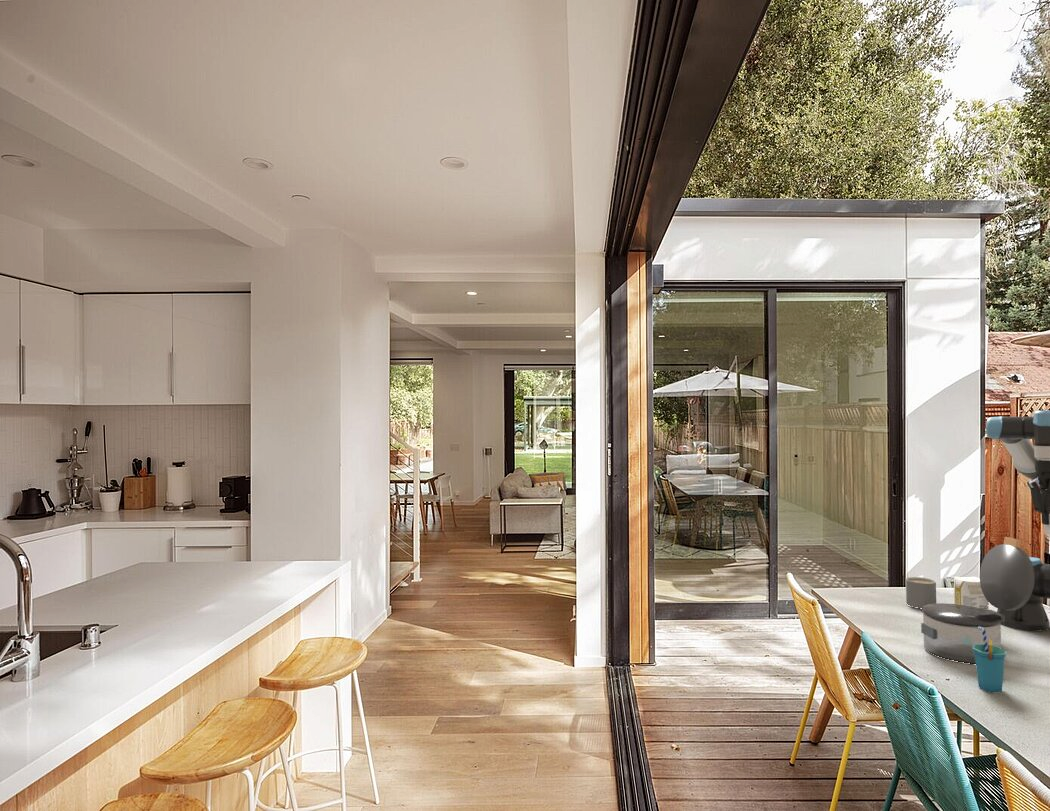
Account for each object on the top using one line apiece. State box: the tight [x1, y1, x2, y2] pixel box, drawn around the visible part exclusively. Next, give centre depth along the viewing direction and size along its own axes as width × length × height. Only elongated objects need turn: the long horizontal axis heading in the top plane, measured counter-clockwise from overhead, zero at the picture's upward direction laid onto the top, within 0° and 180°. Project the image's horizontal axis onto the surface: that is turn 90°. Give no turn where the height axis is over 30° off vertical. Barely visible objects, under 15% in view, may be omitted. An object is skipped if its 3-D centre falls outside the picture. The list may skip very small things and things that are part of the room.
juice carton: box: [953, 576, 990, 610], centre depth 217 cm, size 8×9×19 cm
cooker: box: [920, 603, 1005, 665], centre depth 201 cm, size 22×21×12 cm
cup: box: [973, 626, 1007, 693], centre depth 176 cm, size 14×8×15 cm, turn 160°
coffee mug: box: [905, 576, 937, 608], centre depth 251 cm, size 13×10×10 cm
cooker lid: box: [979, 536, 1035, 611], centre depth 201 cm, size 22×20×4 cm
